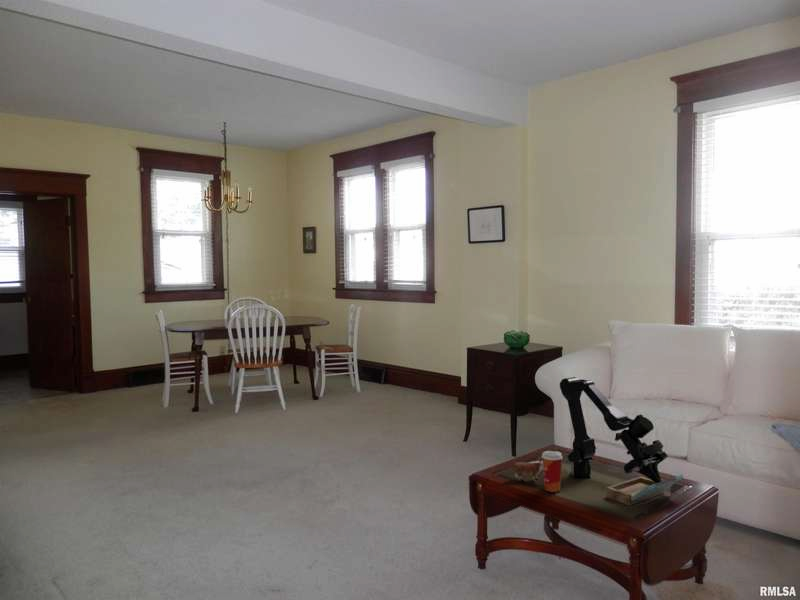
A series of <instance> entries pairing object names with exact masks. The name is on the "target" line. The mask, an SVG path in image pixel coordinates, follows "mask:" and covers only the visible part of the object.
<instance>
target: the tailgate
mask: <svg viewBox="0 0 800 600" xmlns="http://www.w3.org/2000/svg"><path fill="white" fill-rule="evenodd" d="M683 478H684V476H683V474H680V475H676V476H674V477H671V478H667V479H666V480H663V481H662V480H661V482H659V483H656V484H653V485H650V486H647V487H646V488H644V489H643V490H641V491H640V492H639V493H637V494H636V495H634V496H633V497H631V500H632V501H633V500H636V499H639V498H642V497H645V496H647V495H650V494H653V493H656V492H659V491H662V490H664V491H665V490H667V489H669V488H670V487H671V486H673V485H674V484H676V483H677V482H679V481H680V480H682V479H683Z"/></svg>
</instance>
